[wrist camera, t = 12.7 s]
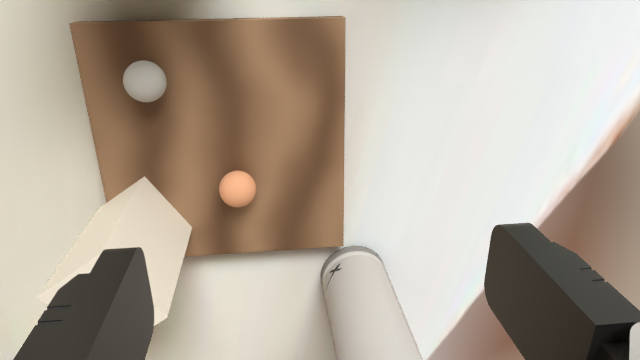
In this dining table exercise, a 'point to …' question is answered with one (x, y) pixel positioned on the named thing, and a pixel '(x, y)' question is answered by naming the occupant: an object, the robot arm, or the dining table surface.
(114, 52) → the board
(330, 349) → the dining table surface
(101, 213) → the cream tall block
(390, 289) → the travel mug
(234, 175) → the ball
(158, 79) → the grey ball
